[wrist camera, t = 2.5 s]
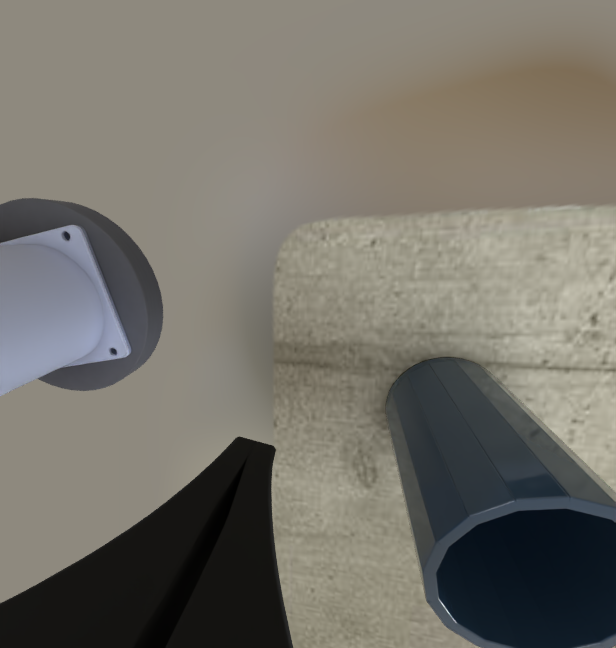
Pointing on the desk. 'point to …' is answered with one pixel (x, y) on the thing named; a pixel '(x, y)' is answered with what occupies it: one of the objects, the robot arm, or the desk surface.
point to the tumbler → (501, 513)
